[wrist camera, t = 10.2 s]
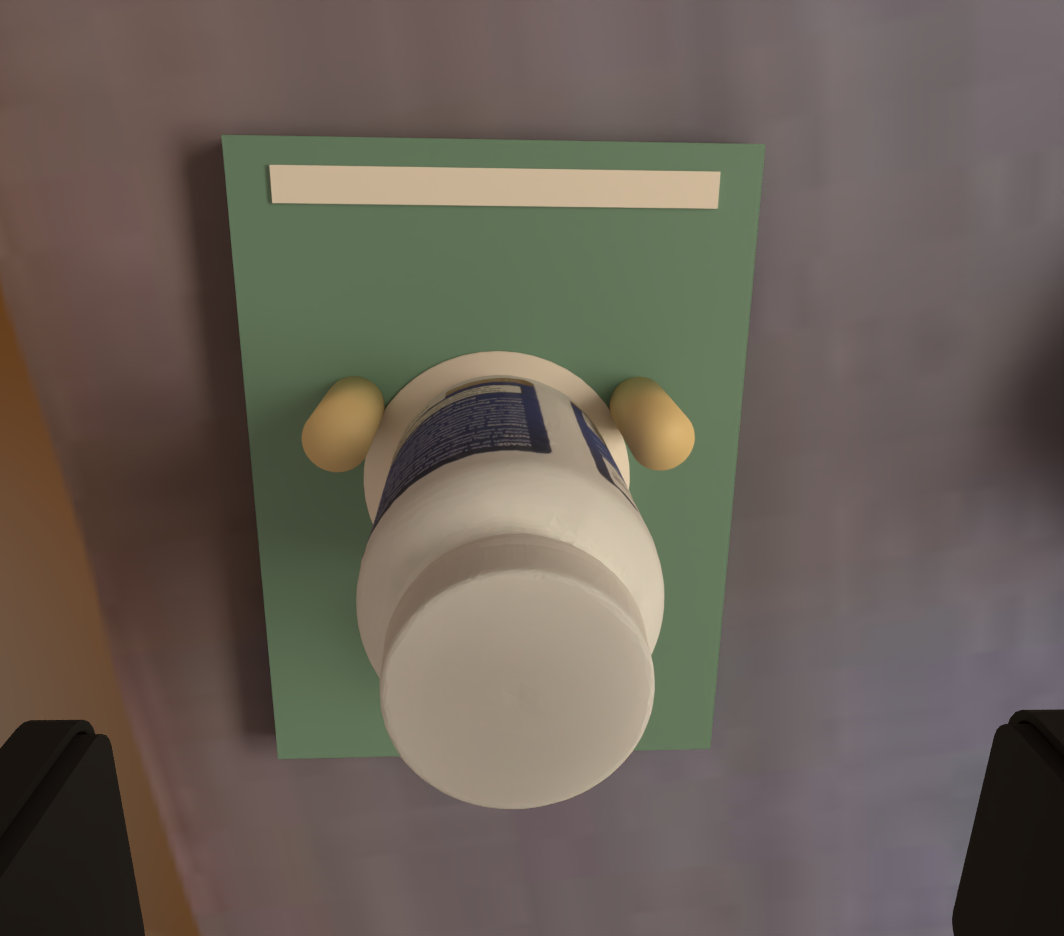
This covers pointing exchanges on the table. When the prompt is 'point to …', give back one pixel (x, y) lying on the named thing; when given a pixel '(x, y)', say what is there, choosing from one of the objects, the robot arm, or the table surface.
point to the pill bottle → (510, 598)
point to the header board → (484, 367)
